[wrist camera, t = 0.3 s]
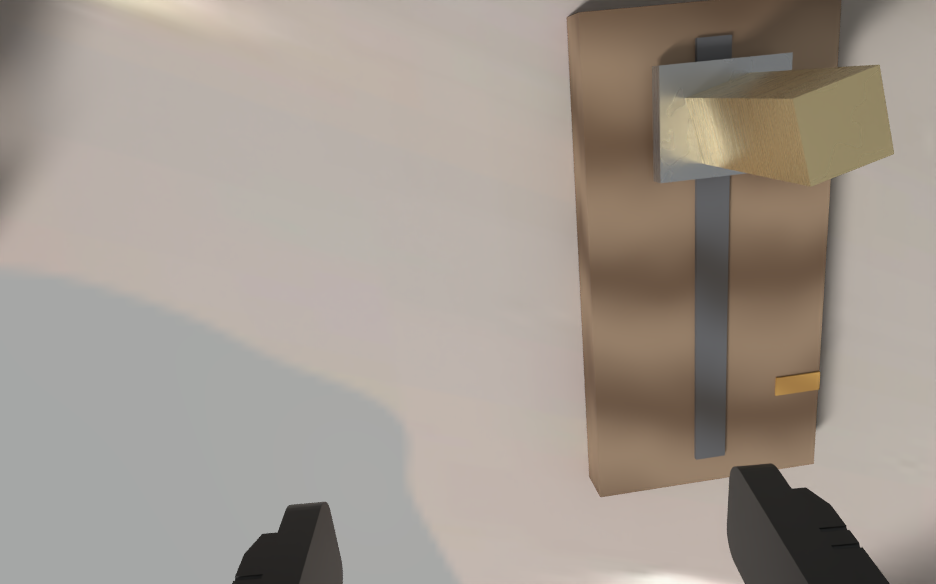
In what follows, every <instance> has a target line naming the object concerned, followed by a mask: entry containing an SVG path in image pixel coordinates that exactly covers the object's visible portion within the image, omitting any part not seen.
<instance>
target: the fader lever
mask: <svg viewBox="0 0 936 584" xmlns="http://www.w3.org/2000/svg"><path fill="white" fill-rule="evenodd" d="M792 59H793V52H791V53H781V54H771V55H761V56H751V57H741V58H731V59H721V60H711V61H701V62H690V63H680V64H670V65H660V66H652V103H653V168H654V181H655V182H658V183H668V182H677V181H685V180H694V179H703V178H711V177H720V176H728V175H737V174H746V173H749V174H753V175H758V176H763V177H767V178H772V179H777V180H782V181H786V182H791V183H796V184H800V185H805V186H810V187H812V186H814V185H817V184H819V183H822V182H824V181H827V180H829V179H832V178H834V177H837V176H839V175H842V174H844V173H847V172H849V171H852V170H855V169H857V168H860V167H862V166H865V165H867V164H870V163H872V162H875V161H877V160H880V159H882V158H885V157H887V156H890V155H892V154H894V150H893V144H892V138H891V132H890V125H889V119H888V113H887V107H886V101H885V95H884V89H883V83H882V77H881V71H880V65H866V66H850V67H834V68H818V69H802V70H792Z"/></svg>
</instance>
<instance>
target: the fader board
mask: <svg viewBox="0 0 936 584" xmlns="http://www.w3.org/2000/svg"><path fill="white" fill-rule="evenodd" d="M840 16H841V0H709V1H698V2H687V3H676V4H665V5H654V6H643V7H632V8H621V9H610V10H599V11H588V12H578V13H576V14H574V15H571V16H569V17H567V32H568V52H569V72H570V93H571V113H572V133H573V154H574V174H575V194H576V214H577V235H578V255H579V275H580V296H581V316H582V336H583V357H584V377H585V397H586V418H587V438H588V458H589V477H590V479H591V481H592V483H593V484H594V486H595V488H596V490H597V492H598V494H599V496H600V497H605V496H612V495H618V494H624V493H631V492H637V491H643V490H650V489H656V488H662V487H669V486H675V485H682V484H688V483H694V482H701V481H707V480H713V479H720V478H726V477H730V471H731V469H732V467H735V466H746V465H757V464H769V463H772V464H774V465H775V466H776V467H777V468H778V469H783V468H790V467H796V466H802V465H809V464H814V448H815V432H816V415H817V399H818V390H819V386H820V371H819V365H820V349H821V332H822V315H823V299H824V282H825V266H826V249H827V232H828V216H829V199H830V182H831V179H829V180H827V181H824V182H822V183H819V184H817V185H814V186H812V187H810V186H805V185H800V184H796V183H791V182H786V181H782V180H777V179H772V178H767V177H763V176H758V175H753V174H749V173H746V174H737V175H728V176H720V177H711V178H703V179H694V180H685V181H677V182H668V183H658V182H655V181H654V168H653V103H652V66H660V65H670V64H680V63H690V62H701V61H711V60H721V59H731V58H741V57H751V56H761V55H771V54H781V53H791V52H793V59H792V70H802V69H818V68H834V67H837V66H838V49H839V33H840Z"/></svg>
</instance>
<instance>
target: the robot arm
mask: <svg viewBox="0 0 936 584" xmlns="http://www.w3.org/2000/svg"><path fill="white" fill-rule="evenodd" d="M727 537H728V543H729V548H730V552H731V555H732V558H733V560H734V562H735V565H736V567H737V569H738V571H739V573H740V575H741V577H742V579H743V581H744V583H745V584H889V582H888V581H887V579H886V578H885V577H884V575H883V574H882V573H881V571H880V570H879V569H878V567H877V566H876V565H875V563H874V562H873V561H872V559H871V558H870V557H869V555H868V554H867V553H866V551H865V550H864V549H863V547H862V548H860V546H859V542H858V541H857V539H856V538H855V537H854V535H853V534H852V533H851V531H850V530H847V528H846V525H845V523H844V522H843V521H842V519H841V518H840V517H839V515H838V514H837V513H836V511H835V510H834V509H833V507H832V506H831V505H830V504H829V503H827V502H826V501H824V500H823V499H822V498H820V497H819V496H817V495H816V494H814V493H813V492H812V491H810V490H809V489H807V488H795V489H791V487H790V486H789V484H788V483H787V481H786V480H785V479H784V477H783V476H782V474H781V473H780V471H779V470H778V468H777V467H776V466H775V465H774V464H772V463H769V464H757V465H746V466H735V467H732V469H731V471H730V478H729V496H728V515H727ZM342 583H343V570H342V561H341V556H340V552H339V547H338V543H337V538H336V534H335V530H334V525H333V521H332V516H331V512H330V508H329V505H328V504H327V502H318V503H306V504H294V505H289V506H288V507H287V509H286V511H285V514H284V516H283V519H282V522H281V525H280V528H279V530H278V533H268V534H262V535H261V536H260V537H259V539H257V541H256V542H255V543H254V544H253V545H252V546H251V547H250V548H249V550H248V551H247V552H246V553H245V554H244V556H243V559H242V561H241V564H240V566H239V568H238V571H237V573H236V576H235V581H233V583H232V584H342Z"/></svg>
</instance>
